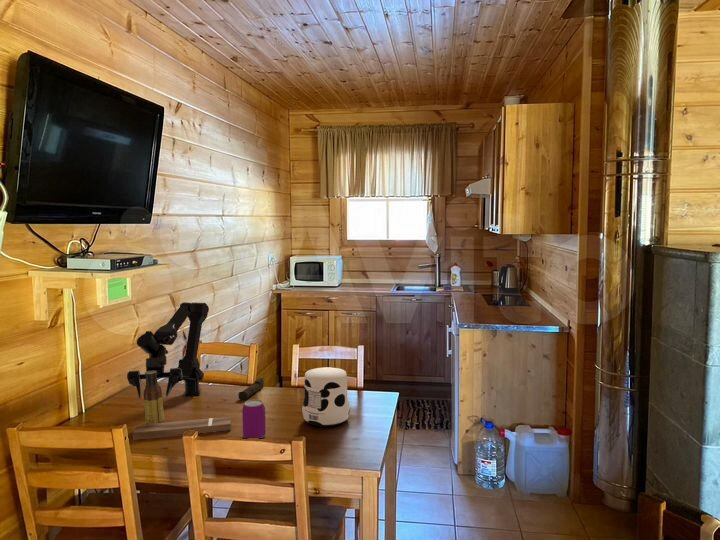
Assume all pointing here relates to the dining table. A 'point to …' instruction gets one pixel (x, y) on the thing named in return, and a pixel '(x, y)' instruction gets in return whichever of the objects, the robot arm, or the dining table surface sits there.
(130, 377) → the robot arm
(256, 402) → the beverage can
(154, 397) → the sauce bottle
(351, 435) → the dining table surface
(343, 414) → the milk container
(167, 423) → the walnut board
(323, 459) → the dining table surface
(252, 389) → the hand tool
